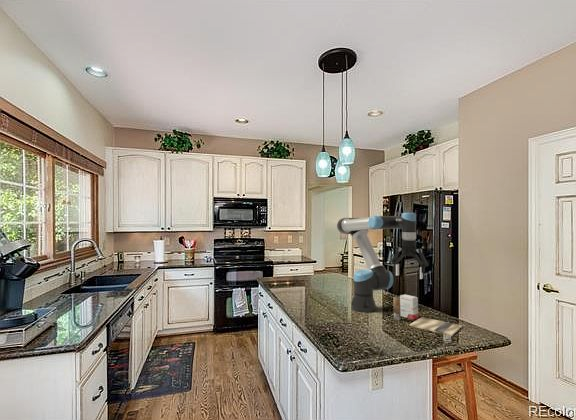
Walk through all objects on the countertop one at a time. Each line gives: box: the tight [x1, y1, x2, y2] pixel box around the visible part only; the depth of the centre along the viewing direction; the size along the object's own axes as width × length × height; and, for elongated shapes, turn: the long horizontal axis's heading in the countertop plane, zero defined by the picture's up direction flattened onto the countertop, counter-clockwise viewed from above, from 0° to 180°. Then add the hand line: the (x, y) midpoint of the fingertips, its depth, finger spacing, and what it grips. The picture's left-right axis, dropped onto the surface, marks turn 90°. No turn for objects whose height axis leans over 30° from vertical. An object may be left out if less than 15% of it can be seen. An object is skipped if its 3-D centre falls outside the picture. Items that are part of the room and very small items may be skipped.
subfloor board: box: [409, 316, 463, 337], centre depth 156 cm, size 20×17×1 cm
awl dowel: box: [392, 296, 401, 321], centre depth 166 cm, size 3×3×12 cm
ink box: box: [399, 294, 419, 321], centre depth 171 cm, size 9×5×12 cm, turn 33°
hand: (409, 277), depth 172 cm, fingers open, 13 cm apart
